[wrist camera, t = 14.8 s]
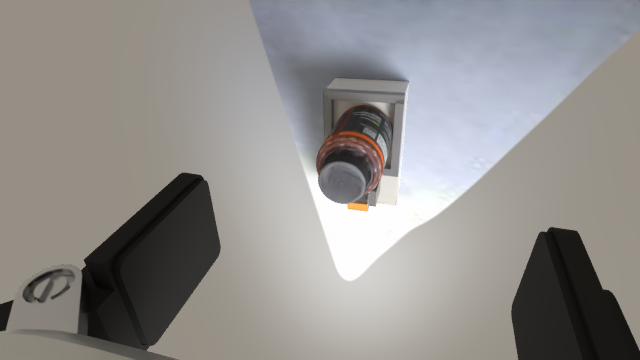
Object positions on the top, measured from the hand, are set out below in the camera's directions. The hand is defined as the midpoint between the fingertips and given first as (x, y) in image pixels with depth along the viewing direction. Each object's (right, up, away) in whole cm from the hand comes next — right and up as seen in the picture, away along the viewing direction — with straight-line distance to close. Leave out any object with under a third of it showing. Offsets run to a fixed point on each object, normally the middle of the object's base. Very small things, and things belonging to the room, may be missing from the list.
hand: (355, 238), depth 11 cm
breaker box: (+5, +7, +34) cm, 35 cm away
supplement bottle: (+4, +7, +30) cm, 31 cm away
